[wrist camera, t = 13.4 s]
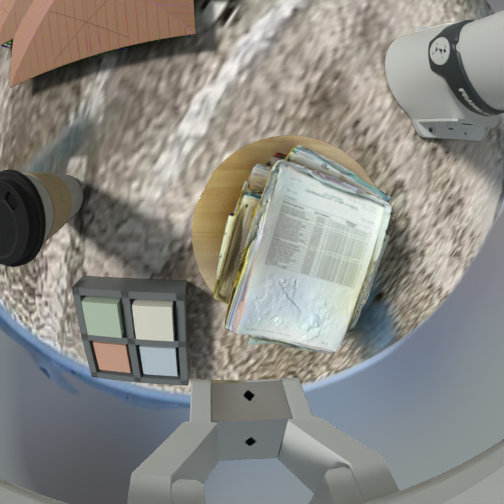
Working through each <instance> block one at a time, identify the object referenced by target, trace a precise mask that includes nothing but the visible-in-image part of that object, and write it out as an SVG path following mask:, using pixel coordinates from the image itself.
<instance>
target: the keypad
mask: <svg viewBox="0 0 504 504" xmlns="http://www.w3.org/2000/svg"><path fill="white" fill-rule="evenodd" d="M72 290H73V296H74V302H75V307H76V312H77V317H78V322H79V327H80V331H81V336H82V340H83V344H84V348H85V352H86V356H87V360H88V364H89V368H90V371H91V375H92V377H96V378H104V379H112V380H121V381H130V382H141V383H153V384H169V385H188V382H189V349H188V323H187V281H185V280H158V279H134V278H114V277H95V276H82V277H81V278H80V280H79V281H78V282H77V283H76V284H75V285H74V286H73V287H72ZM86 296H97V297H112V298H121V302H122V310H123V318H124V325H125V332H124V334H123V336H122V338H116V337H105V336H95V335H88V333H87V328H86V323H85V318H84V313H83V307H82V300H83V299H84V298H85V297H86ZM135 299H146V300H168V301H174V323H175V336H174V341H157V340H141V339H136V335H135V327H134V319H133V310H132V304H133V302H134V300H135ZM93 341H100V342H110V343H120V344H128V347H129V353H130V358H131V364H132V370H131V373H126V372H116V371H107V370H99V366H98V362H97V358H96V354H95V349H94V345H93ZM140 345H146V346H162V347H177V355H178V376H164V375H149V374H144V373H143V367H142V361H141V354H140V347H139V346H140Z"/></svg>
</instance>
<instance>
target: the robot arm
mask: <svg viewBox="0 0 504 504" xmlns="http://www.w3.org/2000/svg"><path fill="white" fill-rule="evenodd" d="M385 71H386V77H387V81H388V84H389V87H390V89H391V91H392V93H393V95H394V97H395V99H396V100H397V102H398V103H399V105H400V106H401V107H402V108H403V110H404V111H405V112H406V113H407V114H408V115H409V117H410V118H411V120H412V122H413V125H414V127H415V130H416V132H417V133H418V135H419V136H420V137H422V138H439V139H456V140H470V141H481V140H482V139H483V137H484V135H485V133H486V130H487V128H495V127H496V126H497V124H498V122H499V119H500V114H501V113H504V10H502V11H500V12H497V13H495V14H492V15H490V16H487V17H485V18H482V19H479V20H476V21H474V20H465V21H458V22H455V23H454V24H452V23H446V24H442V25H438V26H434V27H430V28H427V27H425V26H418V27H416V28H415V29H414V30H413V31H412V33H411V34H409V35H406V36H402V37H400V38H398V39H396V40H395V41H394V42H393V43H392V44H391V45H390V47H389V48H388V51H387V54H386V59H385ZM429 128H430V131H429ZM265 458H278V460H279V461H281V463H282V464H284V465H285V466H286V467H287V468H288V469H289V470H290V471H291V472H292V473H293V474H294V475H295V476H296V477H297V478H298V479H299V480H300V481H301V482H302V483H303V484H304V485H306V486H307V487H308V488H309V489H310V490H311V491H312V492H313V493H314V495H313V497H312V499H311V501H310V503H309V504H504V439H503V440H502V441H500V442H499V443H497V444H496V445H494V446H492V447H491V448H489V449H487V450H486V451H484V452H482V453H480V454H479V455H477V456H475V457H474V458H472V459H470V460H468V461H466V462H464V463H462V464H460V465H459V466H457V467H454V468H452V469H451V470H448V471H446V472H444V473H442V474H440V475H438V476H436V477H433V478H431V479H429V480H427V481H424V482H422V483H419V484H417V485H414V486H412V487H410V488H407V489H405V490H402V491H400V490H399V488H398V486H397V484H396V482H395V480H394V478H393V477H392V475H391V473H390V471H389V469H388V467H387V465H386V463H385V461H384V459H383V457H382V456H381V455H379V454H377V453H376V452H374V451H372V450H371V449H369V448H367V447H366V446H364V445H362V444H361V443H359V442H357V441H356V440H354V439H353V438H351V437H350V436H348V435H346V434H345V433H343V432H342V431H340V430H339V429H337V428H335V427H334V426H332V425H330V424H329V423H328V422H326V421H325V420H323V419H322V418H320V417H319V416H314V417H313V414H312V412H311V409H310V407H309V404H308V402H307V399H306V396H305V394H304V391H303V389H302V386H301V383H300V381H299V379H298V378H286V379H280V380H279V379H274V380H250V381H229V380H211V382H210V380H192V384H191V404H190V422H184V423H182V424H181V425H180V426H179V428H178V429H177V430H176V431H175V432H174V433H173V434H172V435H171V436H170V437H169V438H168V439H167V440H166V441H165V442H164V443H163V444H162V445H161V446H159V448H158V449H156V450H155V451H154V452H153V453H152V454H151V455H150V456H149V457H148V458H147V459H146V460H145V461H144V462H143V463H142V464H141V465H140V466H139V467H138V468H137V469H136V470H135V471H134V472H132V475H131V481H130V488H129V495H128V502H127V504H205V497H204V487H203V484H204V483H205V481H206V480H207V478H208V477H209V475H210V474H211V472H212V471H213V469H214V468H215V466H216V465H217V463H218V461H224V460H242V459H265ZM0 504H68V503H65V502H61V501H58V500H55V499H52V498H49V497H46V496H43V495H40V494H38V493H35V492H32V491H30V490H27V489H25V488H22V487H20V486H17V485H15V484H12V483H10V482H8V481H6V480H4V479H1V478H0Z"/></svg>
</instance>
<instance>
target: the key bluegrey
mask: <svg viewBox="0 0 504 504" xmlns="http://www.w3.org/2000/svg"><path fill="white" fill-rule="evenodd" d="M139 347H140V354H141V361H142V367H143V373H144V374H149V375H164V376H178V355H177V347H162V346H146V345H140V346H139Z"/></svg>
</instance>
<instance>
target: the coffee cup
mask: <svg viewBox="0 0 504 504" xmlns="http://www.w3.org/2000/svg"><path fill="white" fill-rule="evenodd" d="M82 202H83V191H82V188H81V186H80V184H79V183H78V182H77V180H75V179H74V178H73V177H71V176H69V175H64V174H52V173H21V172H18V171H15V170H4V171H1V172H0V264H3V265H6V266H10V267H16V266H21V265H24V264H26V263H28V262H30V261H31V260H33V259H34V258H35V257H36V255H37V254H38V253H39V251H40V249H41V247H42V245H43V244H44V243H45V242H46V241H47V240H48V239H49V238H50V237H51V236H53V235H54V234H55V233H56V232H57V231H58V230H59V229H61V228H62V227H63V226H64V224H65V223H66V222H67V221H68V220H69V219H71V218H72V217H73V216H74V215H75V214H76V213H77V212H78V211H79V209H80V207H81V205H82Z"/></svg>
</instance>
